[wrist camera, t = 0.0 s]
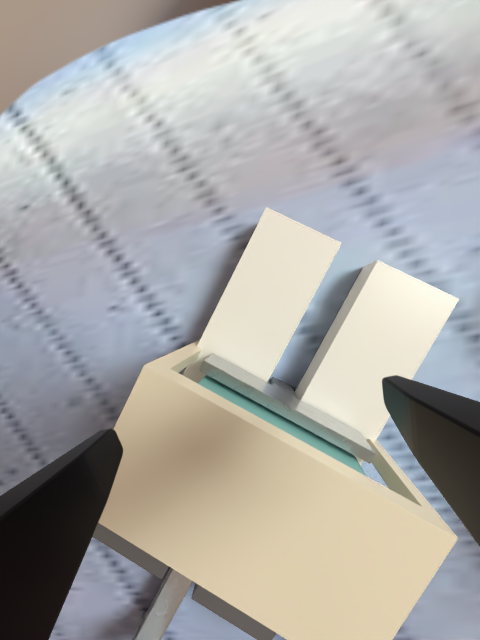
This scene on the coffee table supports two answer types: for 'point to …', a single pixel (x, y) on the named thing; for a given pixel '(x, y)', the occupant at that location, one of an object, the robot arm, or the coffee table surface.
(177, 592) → the slider
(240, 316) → the track
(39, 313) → the coffee table surface
